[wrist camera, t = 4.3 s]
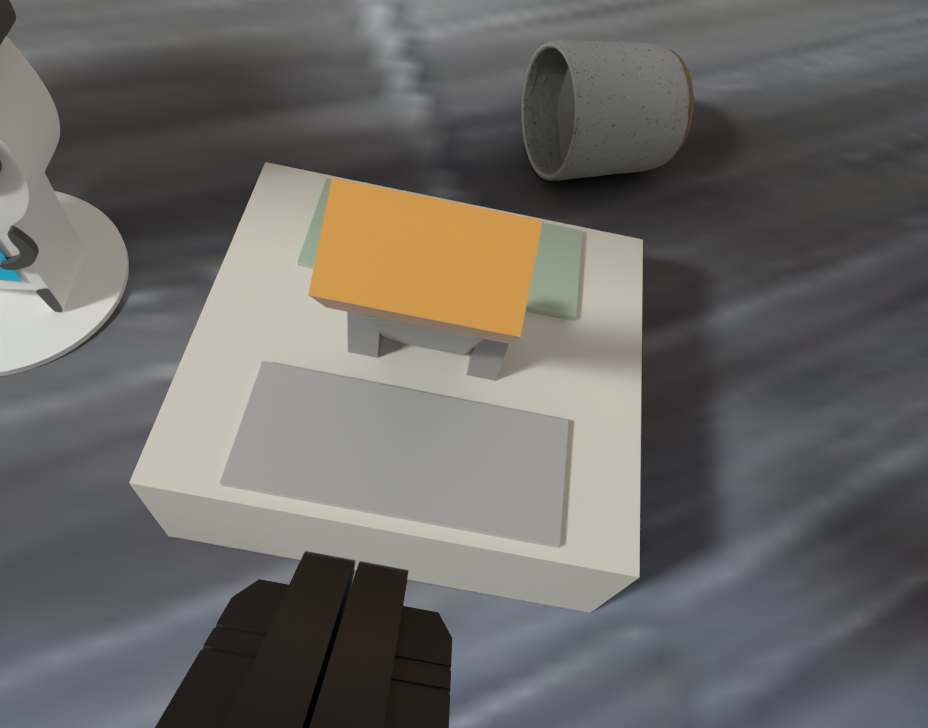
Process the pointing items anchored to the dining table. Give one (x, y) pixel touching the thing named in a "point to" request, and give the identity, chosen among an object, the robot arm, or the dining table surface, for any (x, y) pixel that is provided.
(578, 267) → the switch box
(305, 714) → the robot arm
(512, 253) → the lever
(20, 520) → the dining table surface
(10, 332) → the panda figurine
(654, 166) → the ceramic mug
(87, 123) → the dining table surface
